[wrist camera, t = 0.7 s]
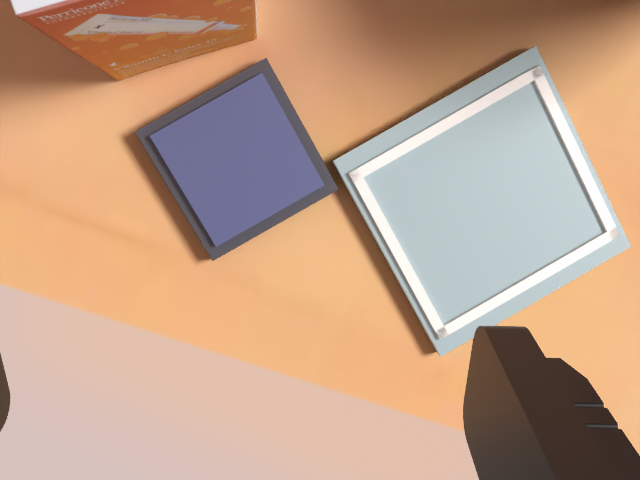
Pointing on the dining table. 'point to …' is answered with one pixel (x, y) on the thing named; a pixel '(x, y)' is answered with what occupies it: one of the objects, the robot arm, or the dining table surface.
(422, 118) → the board
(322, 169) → the ink pad
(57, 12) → the small box
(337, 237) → the dining table surface
